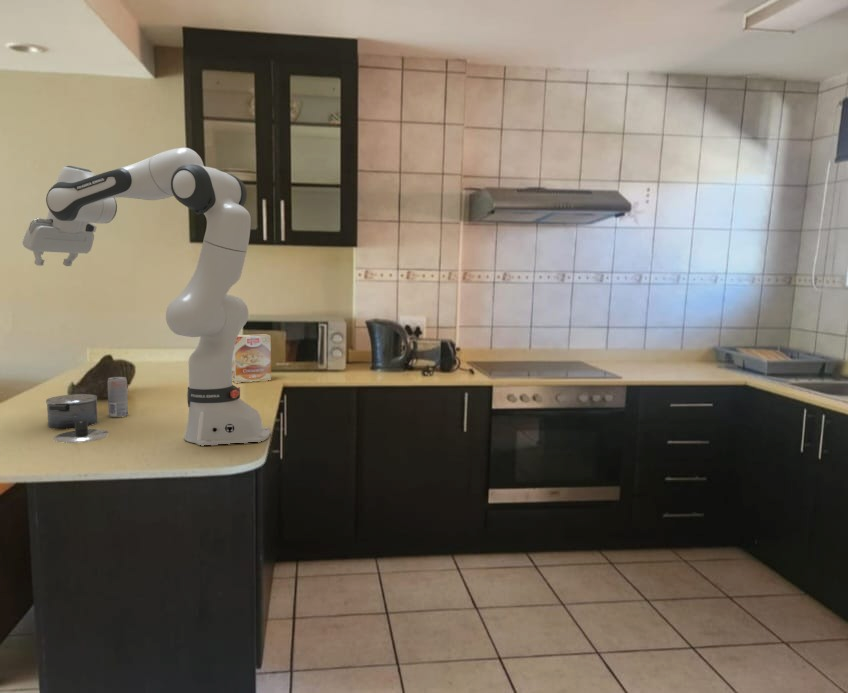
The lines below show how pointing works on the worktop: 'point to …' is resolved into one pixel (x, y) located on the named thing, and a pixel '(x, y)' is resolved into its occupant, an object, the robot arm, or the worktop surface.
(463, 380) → the worktop surface
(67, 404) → the pot
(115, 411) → the energy drink
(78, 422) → the lid
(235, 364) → the coffeecake box
